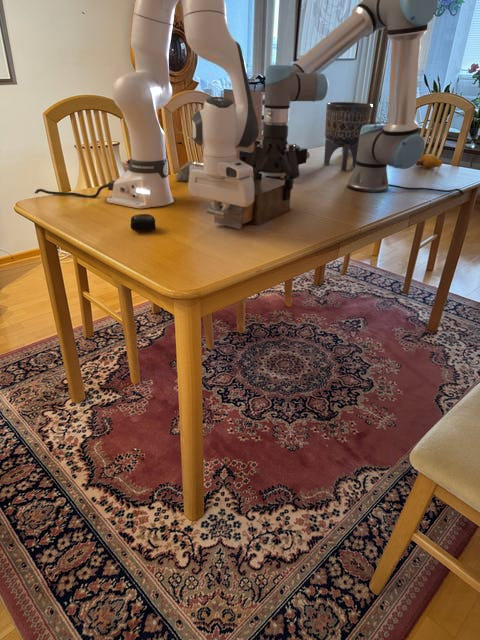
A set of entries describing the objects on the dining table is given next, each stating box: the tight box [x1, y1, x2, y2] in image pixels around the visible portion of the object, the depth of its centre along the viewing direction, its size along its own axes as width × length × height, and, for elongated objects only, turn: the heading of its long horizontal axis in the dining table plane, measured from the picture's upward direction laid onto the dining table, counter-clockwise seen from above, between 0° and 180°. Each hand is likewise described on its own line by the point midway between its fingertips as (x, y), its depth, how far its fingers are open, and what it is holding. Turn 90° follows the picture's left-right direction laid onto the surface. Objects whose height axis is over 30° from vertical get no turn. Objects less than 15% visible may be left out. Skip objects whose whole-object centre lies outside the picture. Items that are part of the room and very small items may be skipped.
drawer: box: [206, 198, 255, 229], centre depth 135 cm, size 25×9×7 cm, turn 145°
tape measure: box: [130, 213, 156, 233], centre depth 129 cm, size 7×7×4 cm
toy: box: [415, 153, 443, 170], centre depth 212 cm, size 11×6×15 cm
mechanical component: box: [238, 144, 311, 179], centre depth 191 cm, size 22×21×30 cm
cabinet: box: [245, 176, 292, 226], centre depth 143 cm, size 20×10×9 cm, turn 145°
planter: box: [323, 101, 374, 172], centre depth 204 cm, size 20×20×26 cm
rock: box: [176, 160, 193, 183], centre depth 181 cm, size 13×9×6 cm, turn 131°
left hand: (220, 216), depth 127 cm, fingers closed, pressing on drawer
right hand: (271, 196), depth 148 cm, fingers closed on cabinet, 10 cm apart
